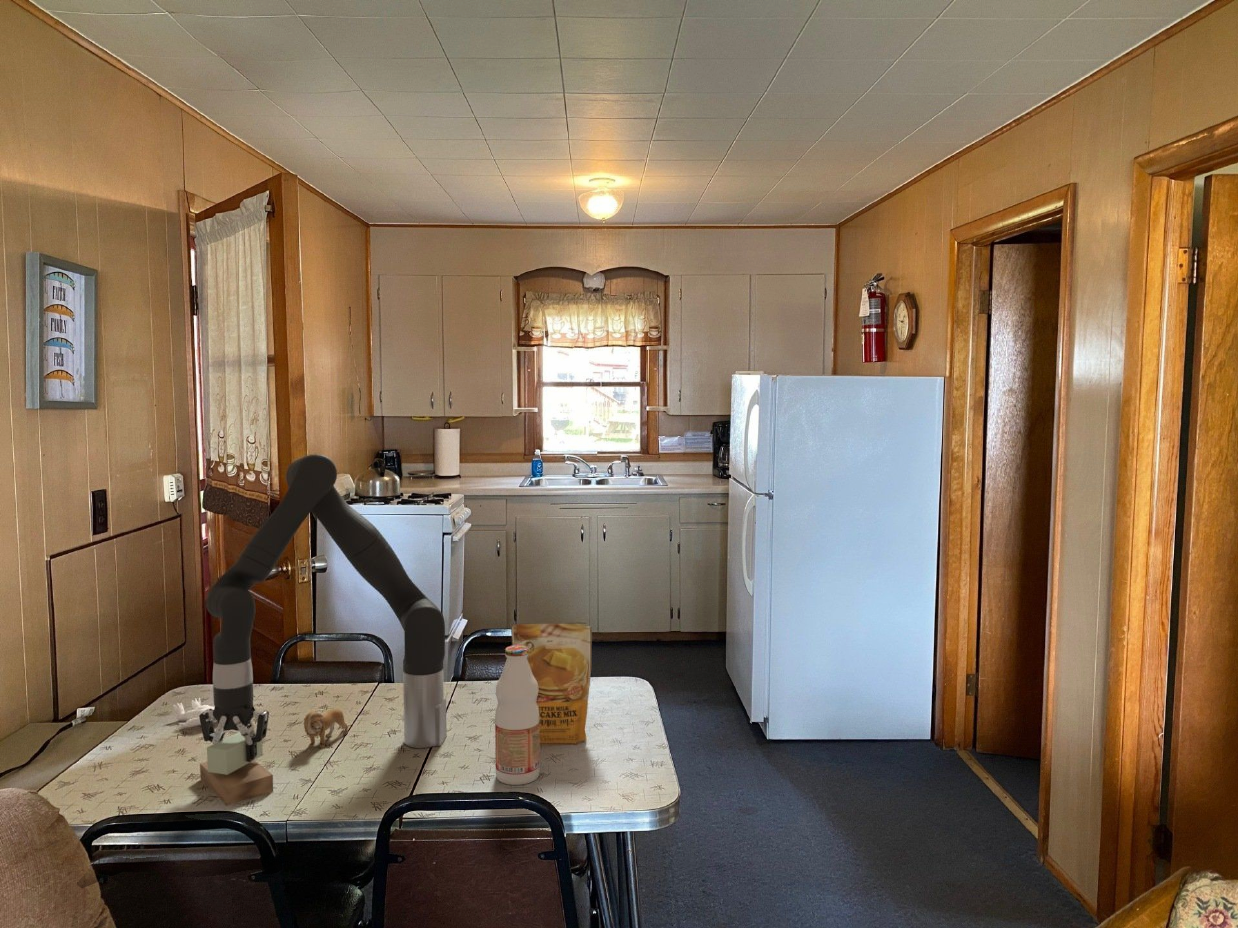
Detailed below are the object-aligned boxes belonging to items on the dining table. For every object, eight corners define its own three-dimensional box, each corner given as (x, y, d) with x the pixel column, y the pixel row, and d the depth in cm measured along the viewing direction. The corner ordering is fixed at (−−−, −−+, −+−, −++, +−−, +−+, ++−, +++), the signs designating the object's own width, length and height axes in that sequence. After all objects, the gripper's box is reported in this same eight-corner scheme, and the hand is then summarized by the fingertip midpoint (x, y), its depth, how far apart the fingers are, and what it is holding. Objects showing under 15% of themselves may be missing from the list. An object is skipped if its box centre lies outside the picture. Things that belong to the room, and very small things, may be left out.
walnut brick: (244, 769, 189) (243, 751, 189) (273, 793, 177) (272, 774, 177) (200, 781, 183) (199, 763, 182) (228, 807, 171) (227, 788, 171)
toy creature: (209, 694, 223) (232, 692, 216) (212, 717, 223) (235, 717, 216) (161, 707, 214) (184, 706, 207) (165, 731, 213) (187, 731, 206)
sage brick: (262, 755, 184) (261, 732, 183) (227, 774, 174) (226, 750, 174) (243, 752, 185) (243, 729, 185) (207, 771, 176) (206, 747, 175)
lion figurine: (319, 754, 196) (318, 716, 195) (298, 752, 197) (297, 714, 196) (353, 730, 210) (352, 694, 209) (333, 728, 211) (332, 692, 211)
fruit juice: (506, 789, 178) (505, 657, 176) (488, 773, 186) (487, 645, 184) (547, 779, 183) (546, 650, 181) (527, 763, 191) (527, 639, 189)
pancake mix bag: (513, 734, 208) (512, 620, 205) (592, 734, 208) (592, 620, 206) (510, 745, 201) (509, 627, 199) (592, 745, 201) (592, 627, 199)
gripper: (275, 675, 182) (277, 753, 183) (208, 674, 182) (211, 752, 184) (258, 687, 174) (261, 768, 176) (189, 686, 175) (192, 767, 176)
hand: (235, 759), depth 180 cm, fingers closed on sage brick, 5 cm apart
